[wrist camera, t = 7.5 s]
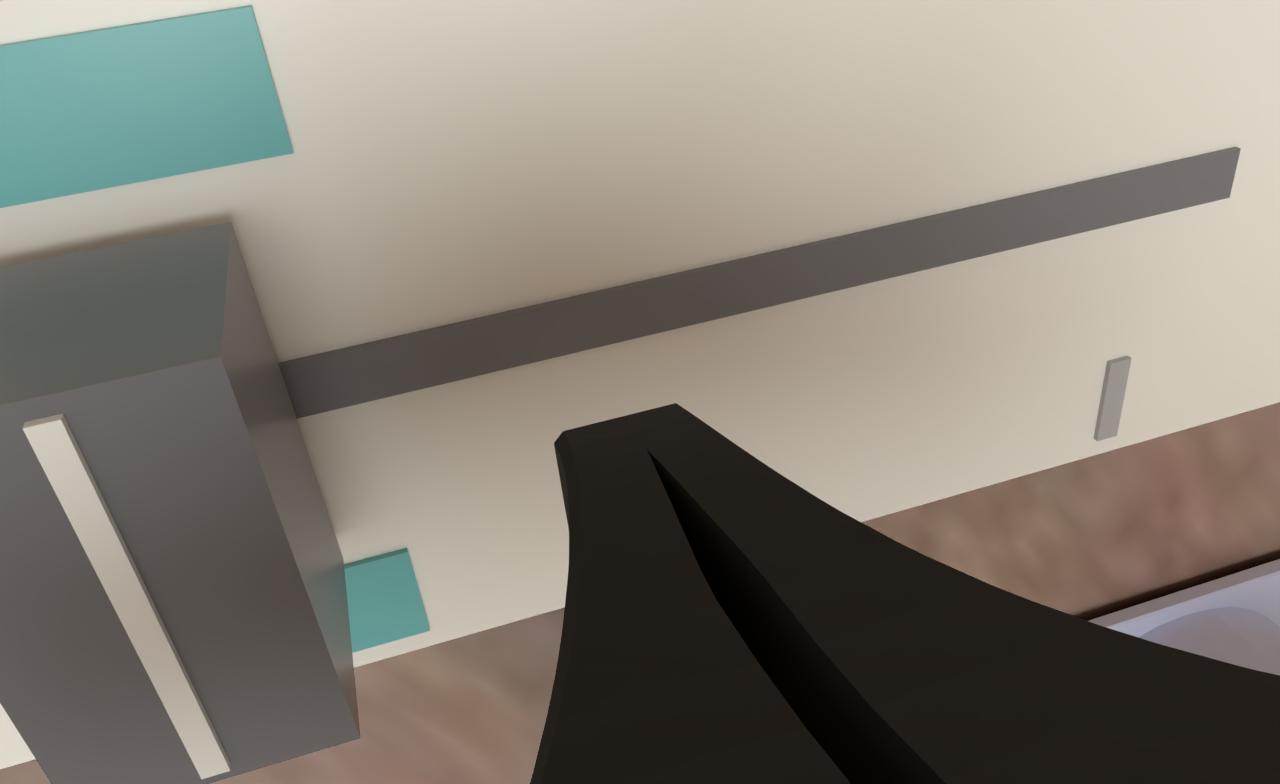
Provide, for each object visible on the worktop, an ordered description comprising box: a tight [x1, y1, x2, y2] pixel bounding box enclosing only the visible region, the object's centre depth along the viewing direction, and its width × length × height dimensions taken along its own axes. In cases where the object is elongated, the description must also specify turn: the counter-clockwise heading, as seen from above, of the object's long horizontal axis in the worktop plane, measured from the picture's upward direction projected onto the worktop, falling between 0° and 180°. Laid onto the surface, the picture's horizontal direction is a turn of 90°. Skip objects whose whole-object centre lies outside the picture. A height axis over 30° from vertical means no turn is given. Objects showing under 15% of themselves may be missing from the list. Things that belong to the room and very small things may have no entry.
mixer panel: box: [0, 0, 1280, 769], centre depth 15 cm, size 10×24×2 cm, turn 96°
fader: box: [0, 222, 360, 784], centre depth 11 cm, size 5×3×3 cm, turn 6°
